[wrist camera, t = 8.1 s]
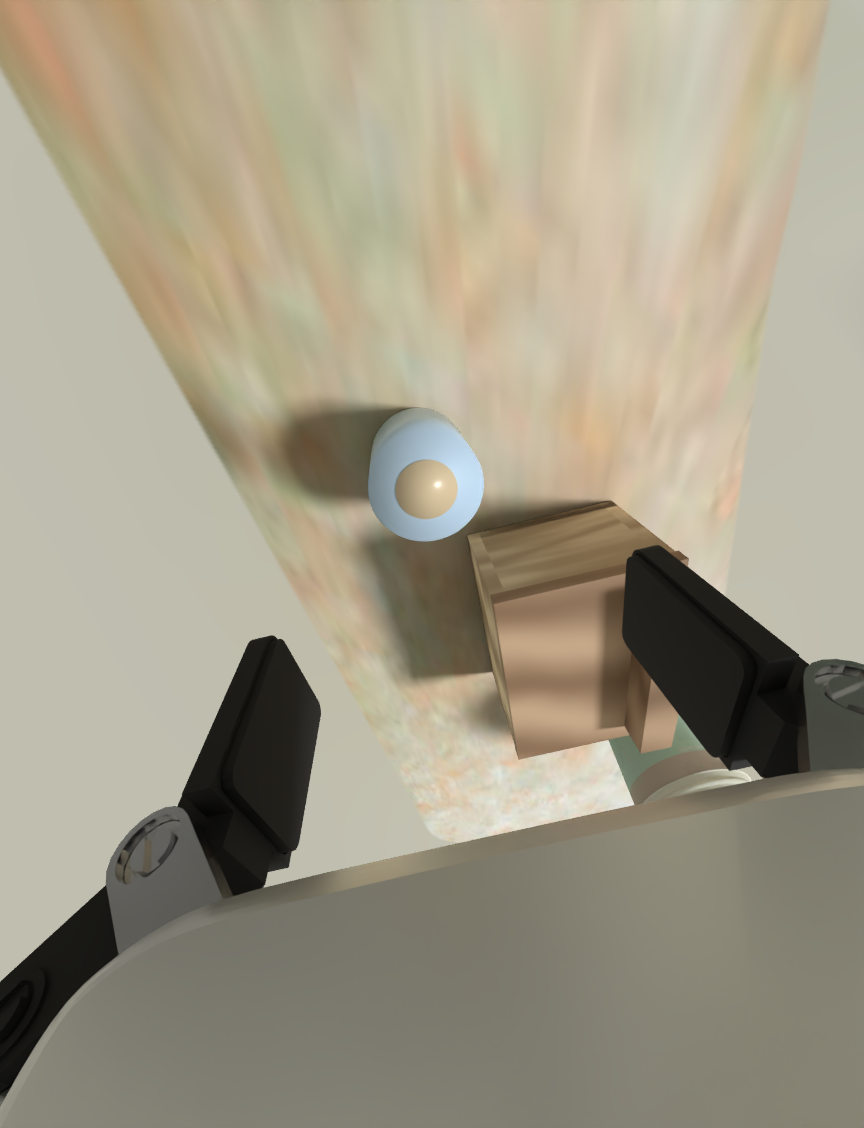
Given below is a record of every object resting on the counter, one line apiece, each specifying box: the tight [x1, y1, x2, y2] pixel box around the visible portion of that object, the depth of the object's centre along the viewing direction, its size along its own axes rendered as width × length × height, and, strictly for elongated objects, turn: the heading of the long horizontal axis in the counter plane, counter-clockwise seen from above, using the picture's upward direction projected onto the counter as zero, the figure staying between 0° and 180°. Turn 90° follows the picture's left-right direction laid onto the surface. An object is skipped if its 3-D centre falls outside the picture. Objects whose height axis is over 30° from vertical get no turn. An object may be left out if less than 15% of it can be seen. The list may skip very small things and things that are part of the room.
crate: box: [467, 501, 676, 744], centre depth 27 cm, size 14×10×7 cm
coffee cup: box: [609, 715, 751, 805], centre depth 32 cm, size 8×9×12 cm
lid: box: [490, 551, 689, 759], centre depth 23 cm, size 14×10×3 cm
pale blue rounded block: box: [368, 408, 484, 541], centre depth 21 cm, size 6×6×6 cm
